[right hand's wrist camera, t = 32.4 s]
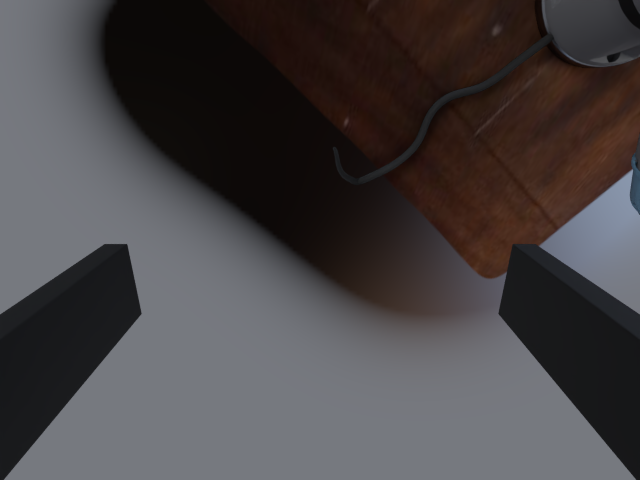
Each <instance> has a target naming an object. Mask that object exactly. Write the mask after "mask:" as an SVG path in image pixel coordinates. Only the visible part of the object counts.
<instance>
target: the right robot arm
mask: <svg viewBox="0 0 640 480" xmlns="http://www.w3.org/2000/svg"><path fill="white" fill-rule="evenodd" d="M535 12H536V19H537V24H538V28H539V30H540V33H541V36H542V39H540V40H539V41H538V42H536V43H535V44H534V45H532V46H531V47H530V48H528V49H527V50H526V51H524V52H523V53H522V54H520V55H519V56H518V57H517V58H515V59H514V60H513V61H511V62H510V63H509V64H508V65H506V66H505V67H504V68H503V69H502V70H500V71H499V72H498V73H496V74H495V75H494V76H492V77H491V78H489V79H487V80H486V81H484V82H482V83H480V84H477V85H474V86H471V87H467V88H463V89H459V90H456V91H453V92H450V93H448V94H446V95H444V96H443V97H441V98H440V99H439V100H438V101H436V102H435V103H434V104H433V105H432V107H431V108H430V109H429V111H428V112H427V114H426V116H425V118H424V120H423V123H422V125H421V128H420V130H419V133H418V135H417V137H416V139H415V141H414V142H413V144H412V145H411V146H410V147H409V148H408V149H407V150H406V151H405V152H404V153H403V154H402V155H401V156H399V157H398V158H397V159H395V160H394V161H392V162H391V163H389V164H387V165H386V166H384V167H382V168H380V169H378V170H376V171H374V172H371V173H369V174H367V175H365V176H363V177H360V178H354V177H352V176H350V175H348V174H346V173H345V172H344V170H343V169H342V167H341V164H340V159H339V154H338V151H337V149H336V147H333V151H334V155H335V162H336V167H337V170H338V172H339V174H340V175H341V177H342V178H343V179H345V180H347V181H348V182H350V183H352V184H354V185H360V184H363V183H366V182H368V181H371V180H373V179H375V178H377V177H379V176H382V175H384V174H386V173H387V172H389V171H391V170H393V169H394V168H396V167H397V166H399V165H400V164H402V163H403V162H404V161H405V160H407V159H408V158H409V157H410V156H411V155H412V154H413V153H414V152H415V151H416V150H417V149H418V147H419V146H420V144H421V143H422V141H423V139H424V137H425V134H426V132H427V129H428V127H429V124H430V122H431V120H432V118H433V116H434V115H435V113H436V112H437V111H438V110H439V109H440V108H441V107H442V106H443V105H444V104H446V103H447V102H449V101H451V100H454V99H456V98H460V97H464V96H468V95H472V94H475V93H478V92H481V91H483V90H485V89H487V88H489V87H491V86H492V85H494V84H495V83H497V82H498V81H500V80H501V79H502V78H504V77H505V76H506V75H508V74H509V73H510V72H511V71H512V70H514V69H515V68H516V67H518V66H519V65H520V64H521V63H523V62H524V61H525V60H527V59H528V58H530V57H531V56H532V55H534V54H535V53H536V52H538V51H539V50H540V49H542V48H543V47H544V46H546V45H547V46H548V47H549V49H550V50H551V51H552V52H553V53H554V54H555V55H556V56H557V57H559V58H560V59H562V60H563V61H565V62H567V63H569V64H572V65H575V66H579V67H585V68H598V67H607V66H614V65H619V64H623V63H626V62H629V61H631V60H634V59H636V58H638V57H640V0H535ZM631 164H632V168H633V176H632V183H631V190H630V200H631V203H632V205H633V207H634V208H635V209H636V210H637V211H638V213H639V214H640V134H639V139H638V144H637V149H636V153H635V154H634V155H633V156H632V161H631ZM140 315H141V309H140V304H139V299H138V294H137V289H136V285H135V280H134V275H133V270H132V265H131V260H130V256H129V251H128V246H127V244H104V245H103V246H101V247H100V248H98V249H97V250H95V251H94V252H92V253H91V254H89V255H88V256H86V257H85V258H83V259H82V260H80V261H79V262H78V263H76V264H75V265H73V266H72V267H70V268H69V269H67V270H66V271H64V272H63V273H61V274H60V275H58V276H57V277H55V278H54V279H52V280H51V281H49V282H48V283H46V284H45V285H43V286H42V287H40V288H39V289H37V290H36V291H35V292H33V293H32V294H30V295H29V296H27V297H26V298H24V299H23V300H21V301H20V302H18V303H17V304H15V305H14V306H12V307H11V308H9V309H8V310H6V311H5V312H3V313H2V314H0V480H4V479H5V477H6V476H7V475H8V474H9V473H10V471H11V470H12V469H13V468H14V467H15V465H16V464H17V463H18V462H19V461H20V459H21V458H22V457H23V456H24V455H25V453H26V452H27V451H28V450H29V449H30V447H31V446H32V445H33V444H34V443H35V441H36V440H37V439H38V438H39V437H40V435H41V434H42V433H43V432H44V431H45V429H46V428H47V427H48V426H49V425H50V423H51V422H52V421H53V420H54V419H55V417H56V416H57V415H58V414H59V412H60V411H61V410H62V409H63V408H64V406H65V405H66V404H67V403H68V402H69V400H70V399H71V398H72V397H73V396H74V394H75V393H76V392H77V391H78V390H79V388H80V387H81V386H82V385H83V384H84V382H85V381H86V380H87V379H88V378H89V376H90V375H91V374H92V373H93V372H94V370H95V369H96V368H97V367H98V366H99V364H100V363H101V362H102V361H103V360H104V358H105V357H106V356H107V355H108V354H109V352H110V351H111V350H112V349H113V348H114V346H115V345H116V344H117V343H118V341H119V340H120V339H121V338H122V337H123V335H124V334H125V333H126V332H127V331H128V329H129V328H130V327H131V326H132V325H133V323H134V322H135V321H136V320H137V319H138V317H139V316H140ZM499 315H500V316H501V317H502V319H503V320H504V321H505V322H506V323H507V325H508V326H509V327H510V328H511V329H512V331H513V332H514V333H515V334H516V335H517V337H518V338H519V339H520V340H521V341H522V343H523V344H524V345H525V346H526V348H527V349H528V350H529V351H530V352H531V354H532V355H533V356H534V357H535V358H536V360H537V361H538V362H539V363H540V364H541V366H542V367H543V368H544V369H545V370H546V372H547V373H548V374H549V375H550V376H551V378H552V379H553V380H554V381H555V382H556V384H557V385H558V386H559V387H560V388H561V390H562V391H563V392H564V393H565V394H566V396H567V397H568V398H569V399H570V400H571V402H572V403H573V404H574V405H575V406H576V408H577V409H578V410H579V411H580V413H581V414H582V415H583V416H584V417H585V418H586V420H587V421H588V422H589V423H590V425H591V426H592V427H593V428H594V429H595V431H596V432H597V433H598V434H599V435H600V437H601V438H602V439H603V440H604V441H605V443H606V444H607V445H608V446H609V447H610V449H611V450H612V451H613V452H614V453H615V455H616V456H617V457H618V458H619V459H620V461H621V462H622V463H623V464H624V465H625V467H626V468H627V469H628V470H629V471H630V473H631V474H632V475H633V476H634V477H635V479H636V480H640V314H638V313H637V312H635V311H634V310H632V309H631V308H629V307H628V306H626V305H625V304H623V303H622V302H620V301H619V300H617V299H616V298H614V297H613V296H611V295H610V294H609V293H607V292H605V291H604V290H603V289H601V288H600V287H598V286H597V285H595V284H594V283H592V282H591V281H589V280H588V279H586V278H585V277H583V276H582V275H580V274H579V273H577V272H576V271H574V270H573V269H571V268H570V267H568V266H567V265H565V264H564V263H562V262H561V261H560V260H558V259H557V258H555V257H554V256H552V255H551V254H549V253H548V252H546V251H545V250H543V249H542V248H540V247H539V246H537V245H536V244H513V246H512V251H511V256H510V260H509V265H508V270H507V275H506V280H505V285H504V289H503V294H502V299H501V304H500V309H499Z"/></svg>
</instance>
